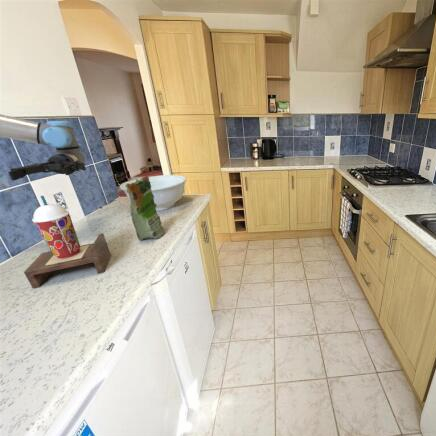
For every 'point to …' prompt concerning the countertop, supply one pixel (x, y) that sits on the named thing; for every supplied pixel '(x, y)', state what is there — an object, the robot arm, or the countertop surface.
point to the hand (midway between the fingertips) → (39, 173)
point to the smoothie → (56, 229)
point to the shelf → (69, 261)
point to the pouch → (144, 210)
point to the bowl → (163, 190)
